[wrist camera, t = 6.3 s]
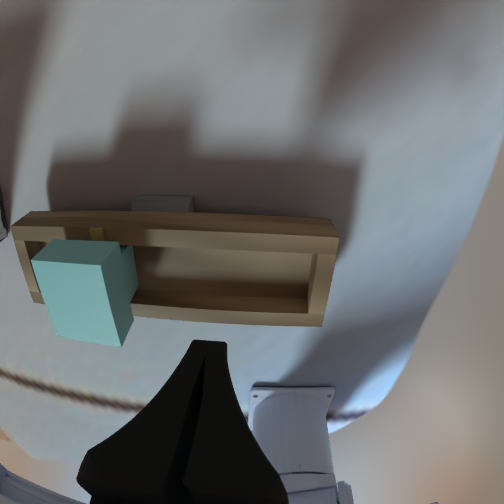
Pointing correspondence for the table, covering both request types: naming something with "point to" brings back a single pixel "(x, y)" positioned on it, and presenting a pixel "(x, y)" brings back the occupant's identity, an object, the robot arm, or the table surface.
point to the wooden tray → (203, 260)
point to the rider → (88, 288)
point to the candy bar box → (2, 222)
